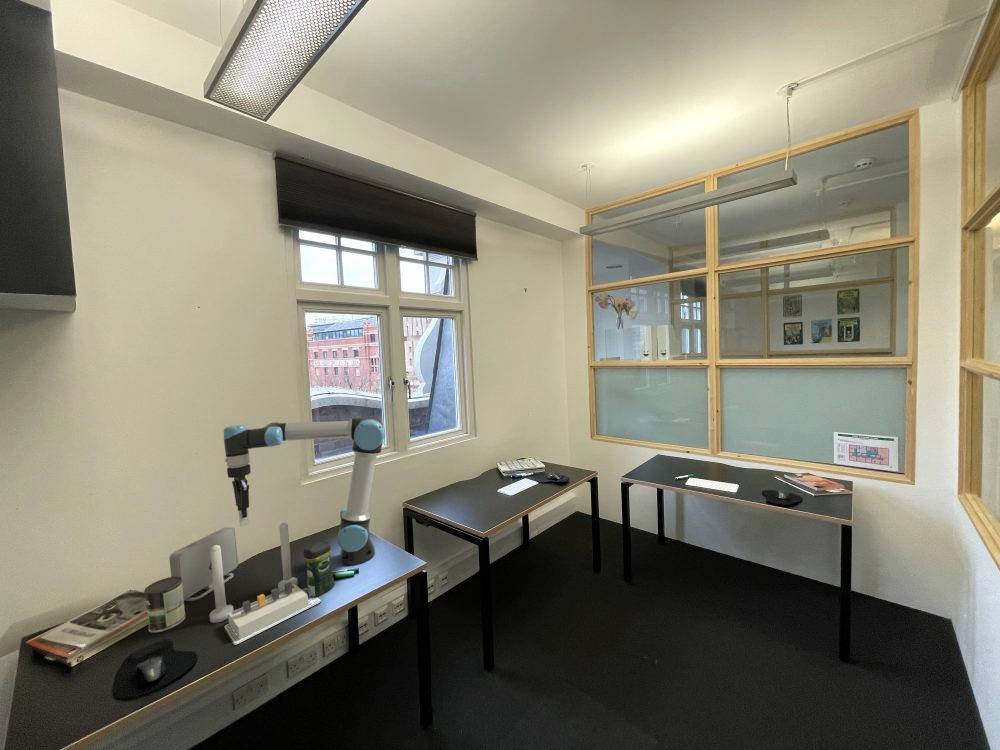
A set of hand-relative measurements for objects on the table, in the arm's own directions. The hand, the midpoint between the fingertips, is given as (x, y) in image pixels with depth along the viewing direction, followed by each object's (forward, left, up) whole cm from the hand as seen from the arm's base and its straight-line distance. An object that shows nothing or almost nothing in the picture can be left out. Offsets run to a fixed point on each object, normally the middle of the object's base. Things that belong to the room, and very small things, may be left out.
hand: (244, 524), depth 156 cm
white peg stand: (+7, +12, -28) cm, 31 cm away
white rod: (-13, +2, -27) cm, 31 cm away
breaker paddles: (-10, +19, -22) cm, 31 cm away
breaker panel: (-10, +19, -27) cm, 35 cm away
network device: (+18, -14, -28) cm, 36 cm away
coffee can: (+24, +8, -28) cm, 37 cm away
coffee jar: (-26, +11, -28) cm, 39 cm away
